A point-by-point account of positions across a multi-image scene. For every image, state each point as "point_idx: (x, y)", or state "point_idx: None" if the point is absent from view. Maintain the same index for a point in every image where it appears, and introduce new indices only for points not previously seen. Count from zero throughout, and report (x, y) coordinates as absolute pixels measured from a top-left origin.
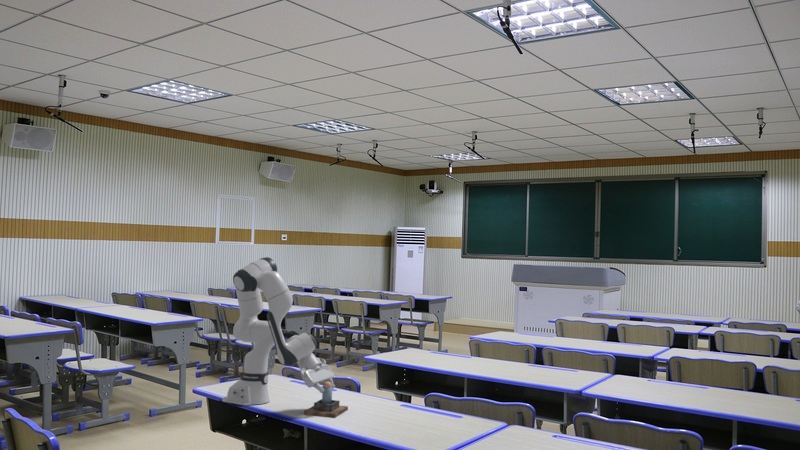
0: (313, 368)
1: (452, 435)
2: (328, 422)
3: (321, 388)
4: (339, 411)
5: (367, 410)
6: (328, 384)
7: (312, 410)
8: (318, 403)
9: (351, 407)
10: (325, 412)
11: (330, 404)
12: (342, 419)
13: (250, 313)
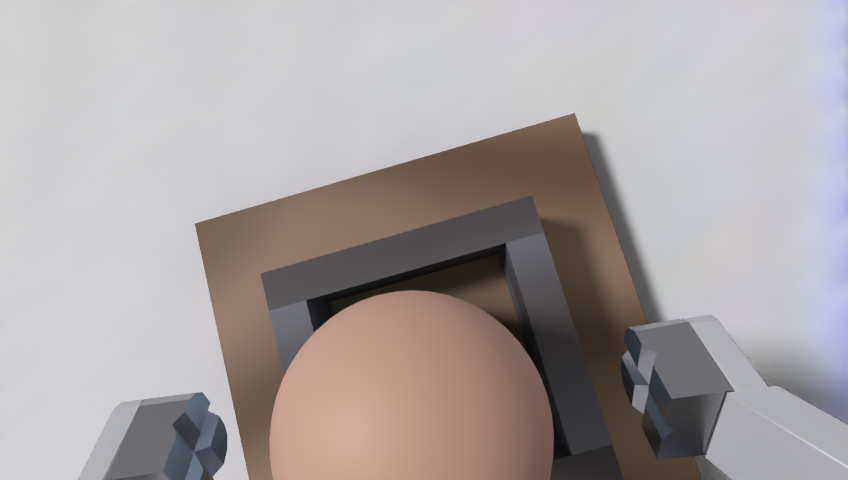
0: None
1: None
2: (750, 76)
3: (758, 374)
4: (450, 153)
5: (107, 67)
6: (485, 343)
7: (636, 446)
8: (596, 413)
9: (90, 274)
10: (598, 250)
11: (524, 231)
12: (559, 42)
13: None
